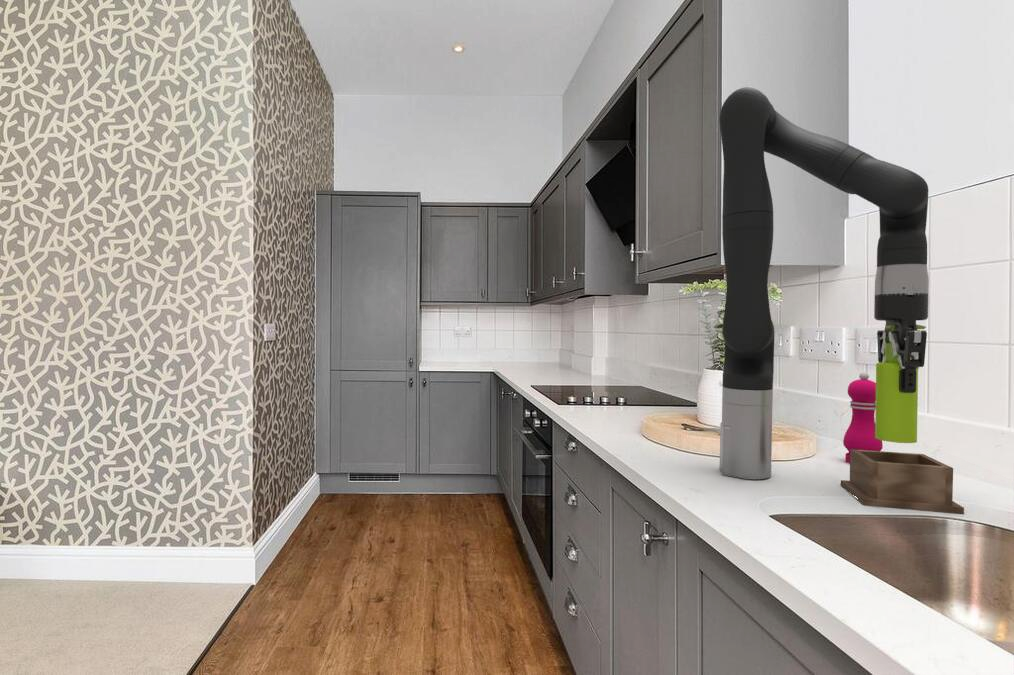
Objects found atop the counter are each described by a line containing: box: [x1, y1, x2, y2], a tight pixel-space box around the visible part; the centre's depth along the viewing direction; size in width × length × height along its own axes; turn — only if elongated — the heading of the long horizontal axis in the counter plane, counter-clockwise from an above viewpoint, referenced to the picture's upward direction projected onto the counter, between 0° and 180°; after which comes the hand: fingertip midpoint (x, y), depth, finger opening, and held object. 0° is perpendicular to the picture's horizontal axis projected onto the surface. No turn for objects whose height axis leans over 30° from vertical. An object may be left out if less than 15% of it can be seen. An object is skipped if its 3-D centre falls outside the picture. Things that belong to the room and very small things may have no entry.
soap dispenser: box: [874, 324, 927, 444], centre depth 94 cm, size 6×7×20 cm
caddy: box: [840, 449, 965, 515], centre depth 94 cm, size 14×12×7 cm
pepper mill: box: [842, 371, 884, 465], centre depth 119 cm, size 7×7×20 cm
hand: (899, 390), depth 94 cm, fingers closed on soap dispenser, 6 cm apart
